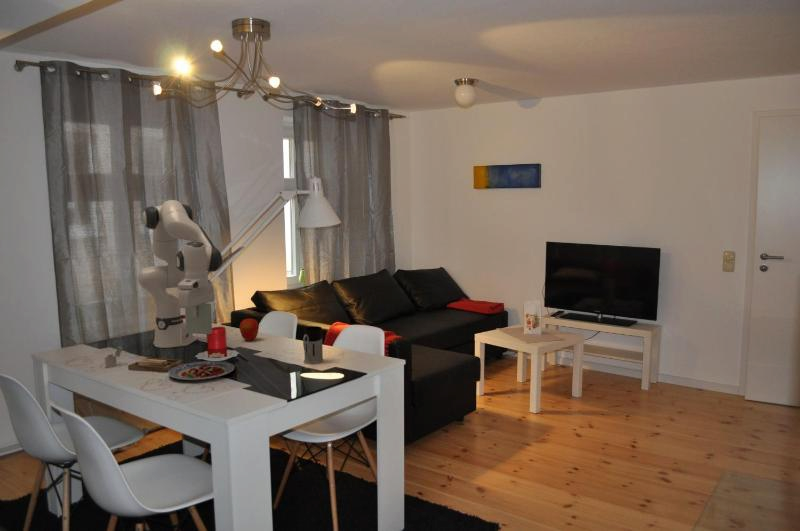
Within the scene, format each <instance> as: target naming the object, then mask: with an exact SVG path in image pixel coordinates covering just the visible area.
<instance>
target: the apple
mask: <svg viewBox="0 0 800 531" xmlns="http://www.w3.org/2000/svg"><path fill="white" fill-rule="evenodd" d="M259 327H260V325H259V323H258V321H257V320H256V319H255V318H244V319H243V320H242V321H241V322H240V324H239V332H240V334H241V337H242V338H243V339H244V340H245V341H247V342H253V341H254V340H255V339H256V338H257V337H258V333H259V329H260V328H259Z"/></svg>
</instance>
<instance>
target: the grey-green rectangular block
mask: <svg viewBox="0 0 800 531" xmlns="http://www.w3.org/2000/svg"><path fill="white" fill-rule="evenodd" d="M196 307H197V308H196V311H197V312H198V316H197V317H193V316H192V312H191V310H190V308H184V309H185V313H184V315H185V316H186V319H185V324H186V333H191V334H193V335H194V334H196V335H210V334H212V333H213V326H212V325H213V322H212V321H213V320H212V304H211V303H206V304H200V305H198V306H196Z"/></svg>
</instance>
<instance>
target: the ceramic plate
mask: <svg viewBox="0 0 800 531" xmlns="http://www.w3.org/2000/svg"><path fill="white" fill-rule="evenodd" d="M234 369H235V366H234V364H232V363H230V362H226V361H218V360H216V361H215V360H211V361H210V360H209V361H208V360H206V361H195V362H190V363H184V365H180V366H177V367H175V368H173V369H171V370H170V371H168V372H167V373H168V376H169V377H171V378H174V379H177V380H185V381H206V379H207V380H212V379H216V378H218V377H222V376H225V375H227V374H230V373H231V372H233V371H234Z"/></svg>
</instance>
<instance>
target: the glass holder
mask: <svg viewBox="0 0 800 531" xmlns="http://www.w3.org/2000/svg"><path fill="white" fill-rule="evenodd" d="M322 329H323V328H322V327H321V326H316V325H314V326H313V325H311V326H306V327H304V330H303V333H304V335H303V339H302V344H303V352H304V359H303V363H304V364H305V365H319V364H322V363H324V362H325V360H324V359H323V358H324V357H323V356H324V355H323V353H324V350H323V336H322V335H323V334H322V332H323V330H322Z"/></svg>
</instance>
